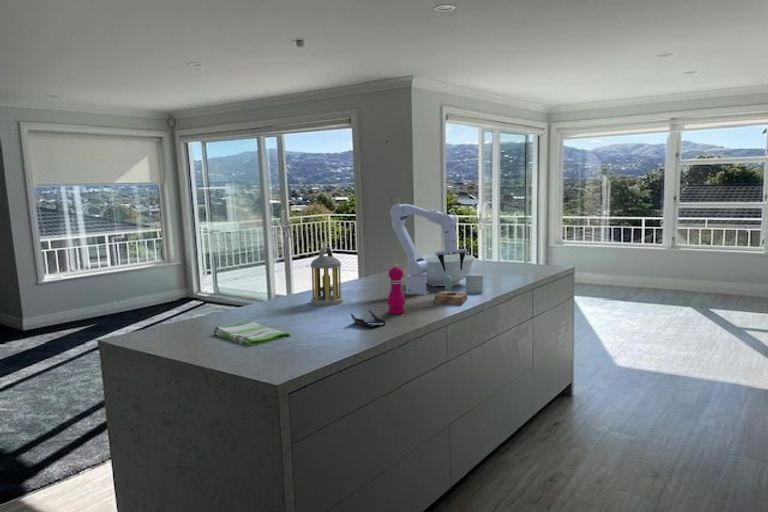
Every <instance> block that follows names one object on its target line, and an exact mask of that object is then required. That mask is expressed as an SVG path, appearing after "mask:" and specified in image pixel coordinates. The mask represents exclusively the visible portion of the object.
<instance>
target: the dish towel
mask: <svg viewBox="0 0 768 512" xmlns="http://www.w3.org/2000/svg"><path fill="white" fill-rule="evenodd" d="M212 333H213V334H214V336H217V337H221V338H223V339H226V340H229V341H232V342H235V343H238V344H242V345H244V346H246V347H247V346H248V347H252V346H256V345H260V344H261V345H262V344H264V343H268V342H273V341H276V340H280V339H284V338H288V337H291V334H290V333H289V332H285V331H282V330H279V329H278V330H277V329H274V328H271V327H267V326H265V325H261V324H258V323H257V322H255V321H253V320H247V321H243V322H240V321H239V322H237V323H231V324H230V323H229V324H225V325H216V326H215V328H214V330H213V332H212Z"/></svg>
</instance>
